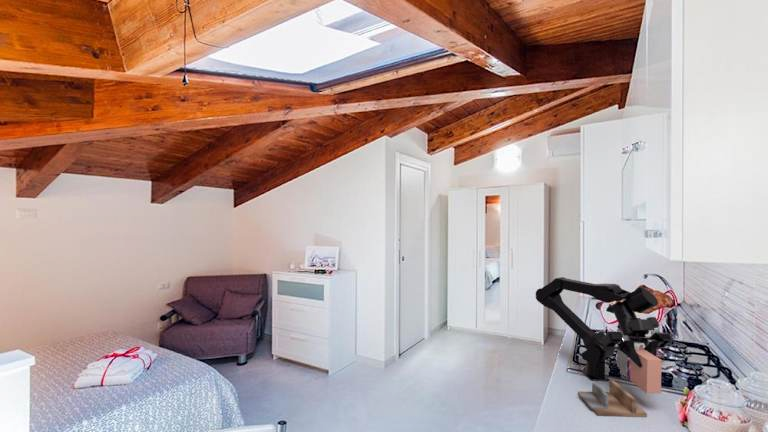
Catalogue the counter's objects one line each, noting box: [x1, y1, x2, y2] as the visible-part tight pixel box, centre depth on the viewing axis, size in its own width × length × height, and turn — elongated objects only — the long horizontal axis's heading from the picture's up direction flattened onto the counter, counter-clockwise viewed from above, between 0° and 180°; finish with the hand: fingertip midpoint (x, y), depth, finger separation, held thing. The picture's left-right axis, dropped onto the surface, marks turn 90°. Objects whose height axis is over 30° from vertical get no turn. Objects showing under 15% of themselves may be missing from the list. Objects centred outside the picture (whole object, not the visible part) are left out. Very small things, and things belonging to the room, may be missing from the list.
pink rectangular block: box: [629, 349, 663, 395], centre depth 113 cm, size 8×4×10 cm, turn 177°
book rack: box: [577, 379, 648, 418], centre depth 114 cm, size 12×15×5 cm
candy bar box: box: [616, 328, 653, 379], centre depth 134 cm, size 11×5×16 cm, turn 105°
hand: (648, 367), depth 111 cm, fingers closed on pink rectangular block, 4 cm apart
